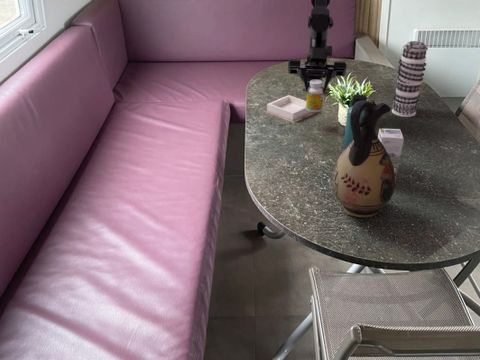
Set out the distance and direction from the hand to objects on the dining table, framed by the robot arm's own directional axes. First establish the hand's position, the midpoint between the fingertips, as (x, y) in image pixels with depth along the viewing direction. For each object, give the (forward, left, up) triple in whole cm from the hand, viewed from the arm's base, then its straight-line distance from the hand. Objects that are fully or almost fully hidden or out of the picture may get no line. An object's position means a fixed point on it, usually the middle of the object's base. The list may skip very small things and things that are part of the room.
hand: (315, 92), depth 164 cm
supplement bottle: (-1, -1, -7) cm, 7 cm away
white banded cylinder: (-34, +15, -13) cm, 40 cm away
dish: (-5, -14, -13) cm, 19 cm away
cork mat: (-6, -14, -13) cm, 20 cm away
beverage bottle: (+8, +21, -13) cm, 26 cm away
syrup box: (+12, +34, -13) cm, 39 cm away
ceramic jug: (+30, +37, -13) cm, 50 cm away
